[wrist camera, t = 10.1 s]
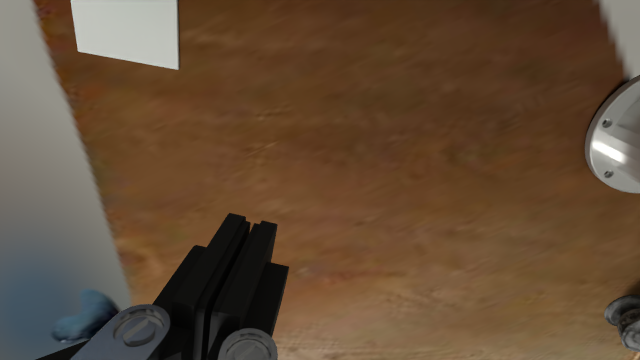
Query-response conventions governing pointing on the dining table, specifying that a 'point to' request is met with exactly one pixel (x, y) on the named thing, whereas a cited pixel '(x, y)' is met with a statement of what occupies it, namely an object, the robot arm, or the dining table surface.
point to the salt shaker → (626, 320)
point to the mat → (129, 30)
